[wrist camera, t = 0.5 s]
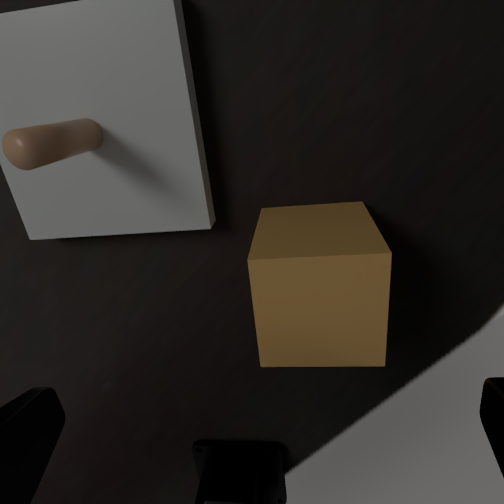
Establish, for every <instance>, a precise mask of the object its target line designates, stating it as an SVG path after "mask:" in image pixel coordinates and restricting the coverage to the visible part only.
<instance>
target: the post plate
mask: <svg viewBox="0 0 504 504" xmlns="http://www.w3.org/2000/svg"><path fill="white" fill-rule="evenodd" d="M0 164H1V167H2V169H3V172H4V174H5V177H6V179H7V182H8V185H9V187H10V190H11V192H12V195H13V197H14V200H15V202H16V205H17V208H18V210H19V213H20V215H21V218H22V220H23V223H24V225H25V228H26V230H27V233H28V236H29V238H30V240H37V239H53V238H69V237H85V236H102V235H118V234H134V233H151V232H167V231H183V230H200V229H211V227H212V226H213V224H214V222H215V221H216V220H215V214H214V207H213V201H212V195H211V188H210V182H209V176H208V169H207V163H206V156H205V150H204V144H203V137H202V131H201V124H200V118H199V112H198V105H197V99H196V93H195V86H194V80H193V73H192V67H191V61H190V54H189V48H188V41H187V35H186V29H185V22H184V16H183V10H182V3H181V0H81V1H75V2H69V3H63V4H57V5H50V6H44V7H38V8H32V9H26V10H20V11H14V12H8V13H2V14H0Z"/></svg>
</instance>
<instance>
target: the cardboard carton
mask: <svg viewBox="0 0 504 504" xmlns="http://www.w3.org/2000/svg"><path fill="white" fill-rule="evenodd" d="M391 258H392V252H391V251H390V249H389V247H388V245H387V244H386V242H385V240H384V238H383V237H382V235H381V233H380V231H379V230H378V228H377V226H376V224H375V223H374V221H373V219H372V217H371V216H370V214H369V212H368V210H367V209H366V207H365V205H364V204H363V202H362V201H361V202H346V203H332V204H317V205H303V206H288V207H273V208H262V209H261V212H260V216H259V220H258V223H257V227H256V231H255V234H254V238H253V242H252V245H251V249H250V253H249V256H248V268H249V276H250V284H251V292H252V300H253V308H254V316H255V325H256V333H257V341H258V349H259V357H260V365H261V367H336V366H385V357H386V341H387V324H388V308H389V291H390V275H391Z"/></svg>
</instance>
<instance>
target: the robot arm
mask: <svg viewBox="0 0 504 504" xmlns="http://www.w3.org/2000/svg"><path fill="white" fill-rule="evenodd" d="M480 418H481V422H482V425H483V427H484V430H485V432H486V435H487V437H488V440H489V442H490V445H491V447H492V450H493V452H494V455H495V457H496V460H497V462H498V465H499V467H500V470H501V472H502V474H503V477H504V377H494V378H487V379H486V380H485V382H484V385H483V392H482V398H481V404H480ZM64 424H65V412H64V410H63V408H62V406H61V403H60V401H59V399H58V396H57V394H56V392H55V390H54V389H52V388H50V387H36V388H32V389H30V390H28V391H27V392H25V393H23V394H22V395H20V396H19V397H17V398H15V399H14V400H12V401H10V402H9V403H7V404H5V405H4V406H2V407H0V504H30V503H31V501H32V499H33V497H34V495H35V492H36V490H37V488H38V486H39V483H40V481H41V479H42V476H43V474H44V472H45V469H46V467H47V464H48V462H49V460H50V457H51V455H52V453H53V450H54V448H55V446H56V443H57V441H58V438H59V436H60V434H61V431H62V429H63V427H64ZM192 452H193V456H194V460H195V464H196V468H197V471H198V475H199V479H200V483H199V488H198V492H197V496H196V500H195V504H285V503H286V500H287V499H286V498H287V497H286V496H287V495H286V487H285V476H284V467H283V457H282V448H281V446H280V445H279V444H278V443H269V442H231V441H195V442H194V443H193V447H192Z"/></svg>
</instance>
